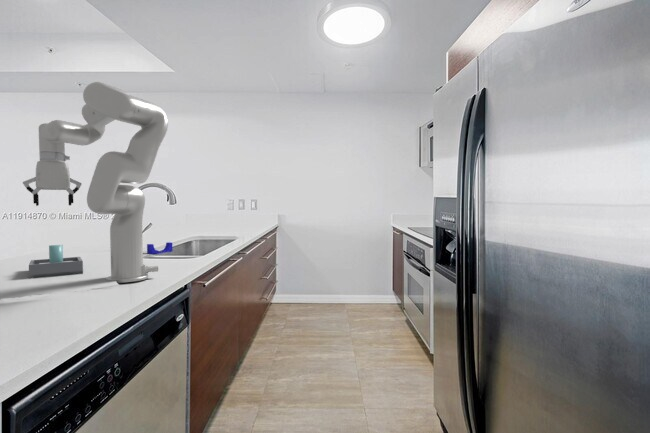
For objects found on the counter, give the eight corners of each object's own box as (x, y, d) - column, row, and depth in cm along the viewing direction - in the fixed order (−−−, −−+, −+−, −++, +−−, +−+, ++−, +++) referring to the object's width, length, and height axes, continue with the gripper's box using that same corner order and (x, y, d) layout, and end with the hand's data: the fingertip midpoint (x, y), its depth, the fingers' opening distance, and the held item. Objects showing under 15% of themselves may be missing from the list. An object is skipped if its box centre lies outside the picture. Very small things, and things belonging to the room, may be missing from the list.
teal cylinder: (63, 269, 137) (62, 244, 136) (63, 270, 133) (62, 245, 133) (49, 270, 134) (49, 245, 134) (49, 271, 131) (48, 246, 131)
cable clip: (152, 256, 180) (152, 244, 180) (147, 256, 183) (147, 244, 183) (174, 254, 190) (174, 242, 190) (168, 253, 193) (168, 242, 193)
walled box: (80, 268, 145) (80, 256, 145) (82, 273, 132) (82, 260, 132) (31, 272, 136) (31, 260, 136) (29, 278, 123) (28, 265, 123)
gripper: (80, 161, 143) (81, 205, 144) (22, 158, 133) (24, 206, 133) (81, 158, 137) (83, 205, 138) (21, 155, 127) (23, 205, 127)
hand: (54, 205), depth 135 cm, fingers open, 9 cm apart
